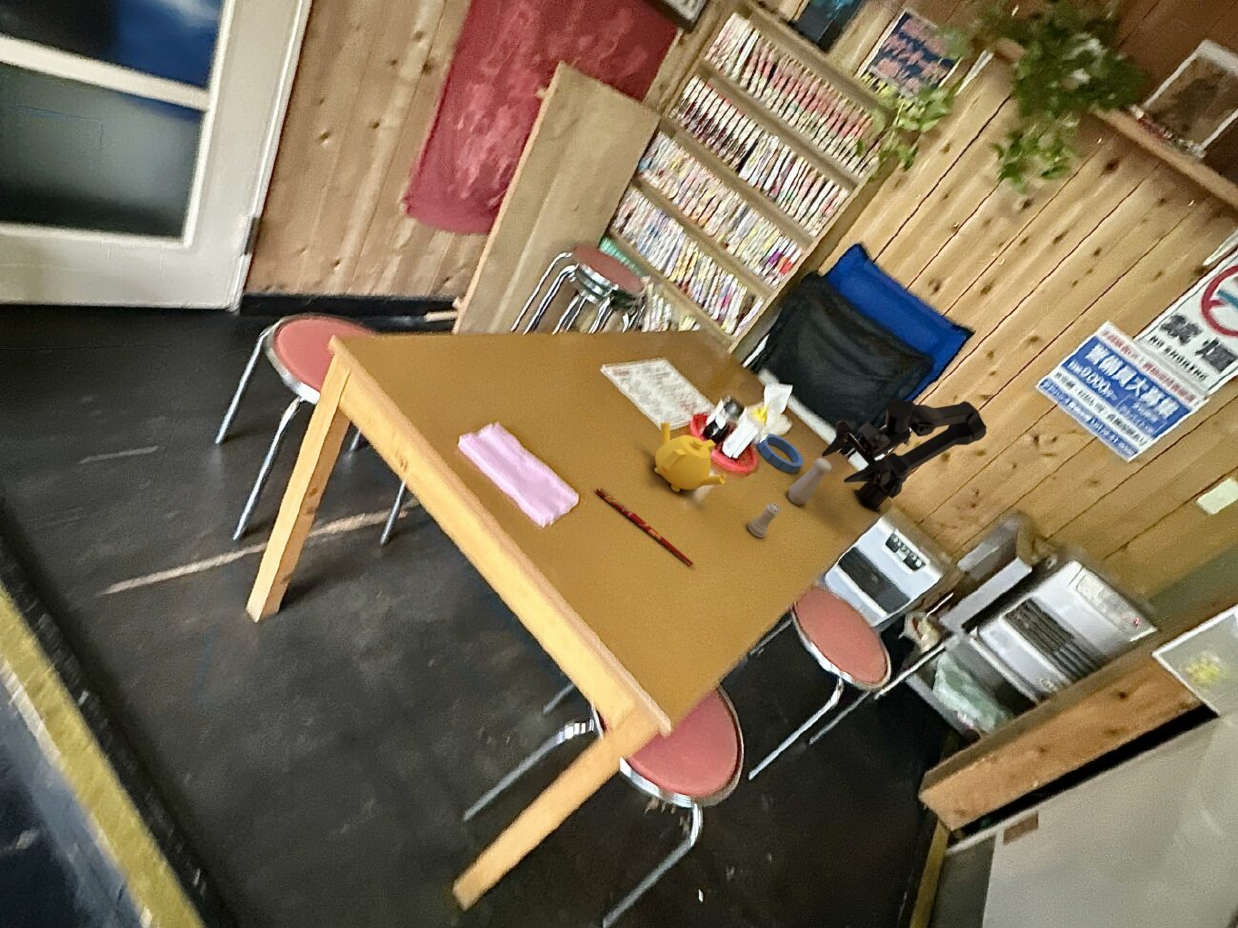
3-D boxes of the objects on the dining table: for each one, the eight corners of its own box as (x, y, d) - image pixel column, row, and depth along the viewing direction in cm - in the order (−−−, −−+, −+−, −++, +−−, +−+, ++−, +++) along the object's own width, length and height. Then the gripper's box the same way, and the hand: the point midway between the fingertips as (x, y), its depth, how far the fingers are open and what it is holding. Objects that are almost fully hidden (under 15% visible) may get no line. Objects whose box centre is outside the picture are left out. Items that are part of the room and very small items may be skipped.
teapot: (724, 499, 171) (751, 464, 166) (682, 517, 158) (710, 480, 152) (666, 442, 179) (689, 406, 173) (621, 454, 165) (645, 416, 159)
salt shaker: (804, 511, 186) (836, 474, 179) (785, 500, 185) (816, 462, 179) (804, 498, 191) (835, 462, 184) (785, 487, 190) (815, 450, 184)
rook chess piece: (753, 538, 165) (774, 513, 161) (743, 523, 168) (763, 498, 163) (767, 538, 168) (787, 514, 164) (756, 523, 170) (776, 499, 166)
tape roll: (791, 450, 210) (796, 443, 208) (803, 478, 200) (808, 472, 198) (753, 434, 205) (758, 427, 204) (763, 463, 195) (769, 456, 194)
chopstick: (690, 567, 145) (692, 564, 145) (595, 491, 149) (597, 488, 149) (693, 563, 147) (696, 559, 147) (599, 488, 151) (601, 484, 150)
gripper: (864, 394, 185) (810, 424, 184) (914, 445, 174) (857, 477, 173) (862, 421, 194) (811, 449, 193) (909, 471, 183) (855, 501, 182)
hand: (832, 468), depth 185 cm, fingers open, 9 cm apart
